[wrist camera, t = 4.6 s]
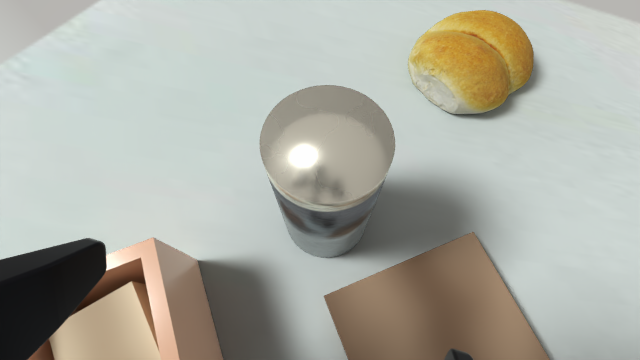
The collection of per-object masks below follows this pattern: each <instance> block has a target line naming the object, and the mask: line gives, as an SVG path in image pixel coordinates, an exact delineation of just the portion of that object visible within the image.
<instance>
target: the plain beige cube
mask: <svg viewBox="0 0 640 360" xmlns="http://www.w3.org/2000/svg"><path fill="white" fill-rule="evenodd" d="M49 341H50V344H51V348H52V351H53V355H54V358H55V360H161V357H160V352H159V347H158V342H157V337H156V332H155V327H154V322H153V316H152V311H151V306H150V301H149V296H148V291H147V286H146V284H142V283H137V282H133V281H131V282H129V283H128V284H126V285H124V286H122V287H121V288H119V289H117V290H115V291H114V292H112V293H110V294H108V295H107V296H105V297H103V298H101V299H100V300H98V301H96V302H94V303H93V304H91V305H89V306H87V307H86V308H84V309H82V310H81V311H79V312H77V313H75V314H74V315H72V316H70V317H69V318H68V319H67V320H66V321H65V322H64V323H63V324H62V325H61V327H60V328H59V329H58V330H57V331H56V332H55V333H54V334H53V335H52V336H51V337H50V338H49Z"/></svg>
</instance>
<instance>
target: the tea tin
mask: <svg viewBox="0 0 640 360" xmlns="http://www.w3.org/2000/svg"><path fill="white" fill-rule="evenodd" d="M394 151H395V137H394V131H393V128H392V125H391V123H390V121H389V119H388V117H387V116H386V114H385V113H384V111H383V110H382V109H381V108H380V107H379V106H378V105H377V104H376V103H375V102H374V101H373V100H372V99H370V98H369V97H367V96H366V95H364V94H362V93H360V92H358V91H355V90H353V89H350V88H346V87H341V86H334V85H321V86H314V87H309V88H305V89H302V90H299V91H297V92H295V93H293V94H291V95H289V96H287V97H286V98H285V99H283V100H282V101H281V102H279V103H278V104H277V105H276V106H275V107H274V108H273V110H272V111H271V112H270V114H269V115H268V117H267V118H266V120H265V122H264V124H263V127H262V131H261V135H260V153H261V157H262V161H263V164H264V166H265V169H266V172H267V175H268V177H269V180H270V183H271V185H272V188H273V191H274V194H275V196H276V199H277V202H278V204H279V207H280V210H281V213H282V215H283V218H284V221H285V223H286V226H287V229H288V232H289V234H290V236H291V238H292V240H293V241H294V242H295V244H296V245H297V246H298V247H299V248H301V249H302V250H303V251H305V252H306V253H308V254H311V255H313V256H317V257H325V258H328V257H335V256H339V255H342V254H344V253H346V252H348V251H349V250H351V249H352V248H353V247H354V246H355V245H356V244H357V243H358V242H359V240H360V238H361V237H362V235H363V232H364V230H365V227H366V225H367V222H368V220H369V218H370V215H371V213H372V210H373V208H374V205H375V203H376V200H377V198H378V195H379V193H380V190H381V188H382V185H383V183H384V180H385V178H386V176H387V173H388V171H389V168H390V166H391V163H392V160H393V157H394Z"/></svg>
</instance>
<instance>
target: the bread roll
mask: <svg viewBox="0 0 640 360" xmlns="http://www.w3.org/2000/svg"><path fill="white" fill-rule="evenodd" d="M408 69H409V73H410V76H411V79H412V82H413V84H414V85H415V86H416V87H417V88H418V89H419V90H420V91H421V92H422V93H423V94H424V96H425V97H426V98H427V99H428V100H429V101H431V102H432V103H434V104H435V105H437V106H438V107H440V108H441V109H443V110H445V111H447V112H449V113H453V114H473V113H483V112H487V111H490V110H493V109H495V108H497V107H499V106H500V105H501V104H502V103H504V102H505V100H506V98H507V97H508V95H509V94H511V93H512V92H514V91H516V90H518V89H519V88H521V87H522V86H523V85H525V83H526V82H527V81H528V80H529V78H530V76H531V73H532V69H533V48H532V45H531V42H530V41H529V39H528V37H527V35H526V33H525V32H524V31H523V29H522V28H521V27H520V26H519V25H518V24H517V23H516V22H515V21H513V20H512V19H510V18H508V17H507V16H505V15H502V14H500V13H497V12H493V11H486V10H478V11H468V12H460V13H456V14H453V15H451V16H448V17H446V18H444V19H443V20H442V21H440V22H438V23H436V24H435V25H434V26H433V27H432V28H430V29H429V30H428V31H427V32H426V33H425V34H423V35H422V36H421V37H420V38H419V39H418V40H417V42H416V44H415V45H414V47H413V49H412V51H411V53H410V55H409V59H408Z"/></svg>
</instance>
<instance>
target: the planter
mask: <svg viewBox="0 0 640 360" xmlns="http://www.w3.org/2000/svg"><path fill="white" fill-rule="evenodd" d="M106 261H107V269H106V272H105V274H104V276H103V277H102V279H101V280H100V281H99V282H98V283H97V284H96V286H95V287H94V288H93V289H92V290H91V292H90V293H89V294H88V295H87V296H86V297H85V299H84V300H83V301H82V302H81V303H80V305H79V306H78V307H77V308H76V309H75V310H74V312H73V313H72V314H71V315H70V316H72V315H74V314H75V313H77V312H79V311H81V310H82V309H84V308H86V307H87V306H89V305H91V304H93V303H94V302H96V301H98V300H100V299H101V298H103V297H105V296H107V295H108V294H110V293H112V292H114V291H115V290H117V289H119V288H121V287H122V286H124V285H126V284H128V283H129V282H131V281H133V282H137V283H142V284H146V286H147V291H148V296H149V301H150V306H151V311H152V316H153V322H154V327H155V332H156V337H157V342H158V347H159V352H160V357H161V360H223V357H222V353H221V349H220V345H219V341H218V337H217V334H216V330H215V326H214V322H213V318H212V314H211V311H210V307H209V303H208V299H207V295H206V291H205V287H204V284H203V280H202V276H201V272H200V268H199V264H198V261H197V260H196V259H194V258H192V257H190V256H188V255H187V254H185V253H183V252H181V251H179V250H177V249H175V248H173V247H171V246H169V245H167V244H165V243H163V242H161V241H159V240H157V239H155V238H151V239H148V240H145V241H143V242H140V243H137V244H135V245H132V246H129V247H126V248H124V249H121V250H118V251H116V252H113V253H110V254H108V255H106ZM70 316H69V317H70ZM28 360H55V358H54V355H53V351H52V348H51V344H50V341H49V339H48V340H47V341H46V342H45V343H44V344H43V345H42V346H41V347H40V348H39V349H38V350H37V351H36V352H35V353H34V354H33V355H32V356H31V357H30V358H29V359H28Z"/></svg>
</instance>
